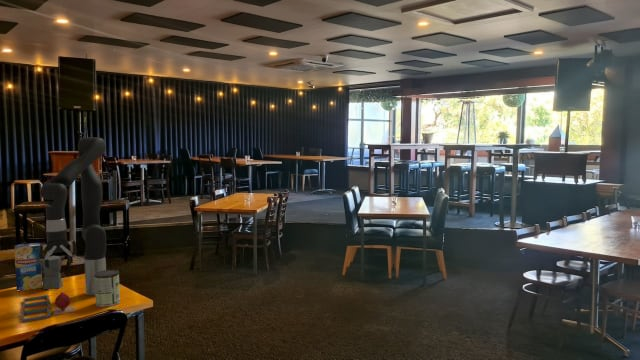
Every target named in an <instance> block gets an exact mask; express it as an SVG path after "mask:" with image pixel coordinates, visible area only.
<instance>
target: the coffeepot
mask: <svg viewBox="0 0 640 360" xmlns="http://www.w3.org/2000/svg"><path fill="white" fill-rule="evenodd" d="M53 254H54V253H52V254H51V255H50V256H49V258H48V260H49V268H47V267H45V261H44V259H39V260H37V262H38V263H39V264H40V265H41V269H42V271H43V272H42V273H43V278H42V288H43V289H42V290H44V289H47V290H46V291H49V290H48V289H54V290H58V289H60V287H61V288H62V287H63V286H64V283H63V281H62V275H61V273H60V271H61V268H62V261H64V260H67V261H66V264H65V269H63V270H62V272H64V273H66V272H68V270H69V267H70V265H69V258H68V256H69V255H53ZM57 288H58V289H57Z"/></svg>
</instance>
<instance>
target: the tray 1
mask: <svg viewBox="0 0 640 360" xmlns="http://www.w3.org/2000/svg"><path fill="white" fill-rule="evenodd" d="M36 299H37V300H43V299H46V300H43V301H37V300H36ZM29 300H31V301H35V302H30V301H29ZM47 301H48V302H49V304H50V303H51V301H50V297H49V294H45V295H39V296H33V297H26V298H23V300H22V303H23V305H28V304H34V303H40V302H47ZM26 302H30V303H26Z"/></svg>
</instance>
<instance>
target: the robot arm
mask: <svg viewBox="0 0 640 360" xmlns="http://www.w3.org/2000/svg"><path fill="white" fill-rule="evenodd" d="M106 150H107V144H106V142H105V139H103V138H102V137H96V136H95V137H93V136H92V137H90V136H89V137H82V138H80V139H79V140H78V144H77V152H78V157H77V158H75V159H73V160H72V161H70V162H68V163H67V164H66V165H65V166H64V167H63V168H61V170H60V171H59V172H58V173H57V174H56V175H54V176H53V177H51V178H50V179H48V180H47V181H46V182H44V183H43V185H42V186H41V187H40V190H39V195H40V197H41V198H42V199H44V200H46V201H47V200H48V201H49V200H50V201H51V200H52V201H53V203H52V205H51V204H50V205H48V206H47V207H46V208H45V218H46V224H45V227H46V229H45V230H46V242H47V243H46V244H41V243H40V245H39V258H40V259H44V261H45V267H47V268H49V260H48V258H49V256H50V255H51V254H52V253H53V254H57V253H63V252H64V253H66V254H67V256H68V258H69V266H71V265H72V264H73V262H74V261H73V259H74V258H73V256H74V255H77V253H78V250H77V243H76V241H75V240H74V239H72V240H70V241H68V234H67V233H68V232H67V231H68V230H67V222H66V215H65V208H66V203H67V199H68V193H69V192H68V189H67V187H69V186H71V185H72V184H73V183H74V182H75V181H76V180H77V179H78V177H79V176H80V180H81V181H80V183H81V184H80V189H81V190H80V191H81V204H82V214H83V216H82V226H81V227H82V228H81V237H82V239H83V240H84V242H85V251H84V254H83V257H84V278H85V279H84V281H85V282H84V284H85V295H87V296H96V295H95V276H94V274H95V273H96V272H99V271H104V270H107V263H106V262H107V261H106V252H107V233H106V230H105V229H104V227H102V226H101V219H100V212H101V206H102V202H103V183H102V180H101V179H100V176H99V175H98V173H97V172H96V170H95V167H94V165H93V163H95V161H97V160H98V159H99V158H101V157H102V156H103V155H104V154H105V152H106ZM69 245H70V246H71V247H72V251H71V250H69V249H68V248H67V247H68V246H69ZM45 248H47V249H48V251H47V252H46V253H45V255H44V250H45Z"/></svg>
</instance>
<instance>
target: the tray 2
mask: <svg viewBox="0 0 640 360" xmlns="http://www.w3.org/2000/svg"><path fill="white" fill-rule="evenodd" d="M46 301H47V300H46ZM39 302H40V303H35V302H33V303H34V304H29V303H27V304H28V305H24V304H22V312H28V311H34V310H40V309H46V308H49V311H51V305H50V303H49V302H48V301H47V302H41V301H39ZM40 306H47V307H42V308H41V307H40ZM28 307H29V308H32V307H34V308H35V307H40V308H35V309H29V310H26V309H27V308H28Z"/></svg>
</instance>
